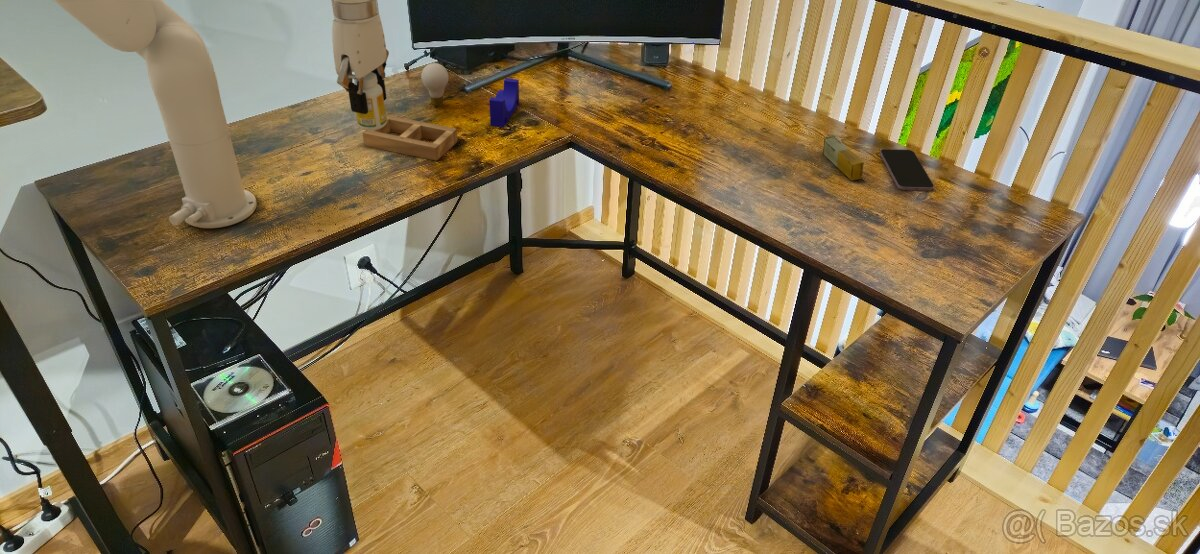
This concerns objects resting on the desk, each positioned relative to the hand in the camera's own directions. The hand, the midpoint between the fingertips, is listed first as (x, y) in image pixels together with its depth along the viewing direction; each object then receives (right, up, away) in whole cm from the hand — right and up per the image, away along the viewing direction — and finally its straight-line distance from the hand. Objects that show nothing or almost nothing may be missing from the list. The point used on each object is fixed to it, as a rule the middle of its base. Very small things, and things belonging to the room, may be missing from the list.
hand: (369, 104), depth 154 cm
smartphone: (+105, -10, +18) cm, 107 cm away
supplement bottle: (0, -3, +3) cm, 4 cm away
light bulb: (+6, +7, +36) cm, 37 cm away
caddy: (+3, -4, +21) cm, 21 cm away
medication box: (+92, -9, +19) cm, 94 cm away
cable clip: (+20, +4, +33) cm, 39 cm away
